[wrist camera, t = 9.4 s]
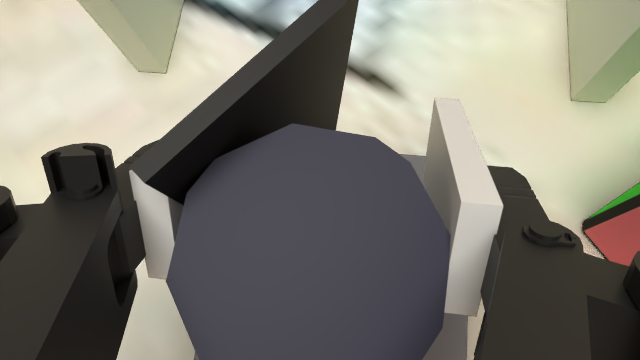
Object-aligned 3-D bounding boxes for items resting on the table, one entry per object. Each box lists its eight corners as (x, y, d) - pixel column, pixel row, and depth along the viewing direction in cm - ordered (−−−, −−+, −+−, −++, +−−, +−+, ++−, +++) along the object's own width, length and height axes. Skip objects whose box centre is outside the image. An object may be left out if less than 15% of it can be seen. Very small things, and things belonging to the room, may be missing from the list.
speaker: (198, 193, 18) (49, 70, 8) (329, 137, 19) (343, -43, 9) (272, 380, 17) (201, 514, 7) (414, 312, 17) (549, 337, 7)
